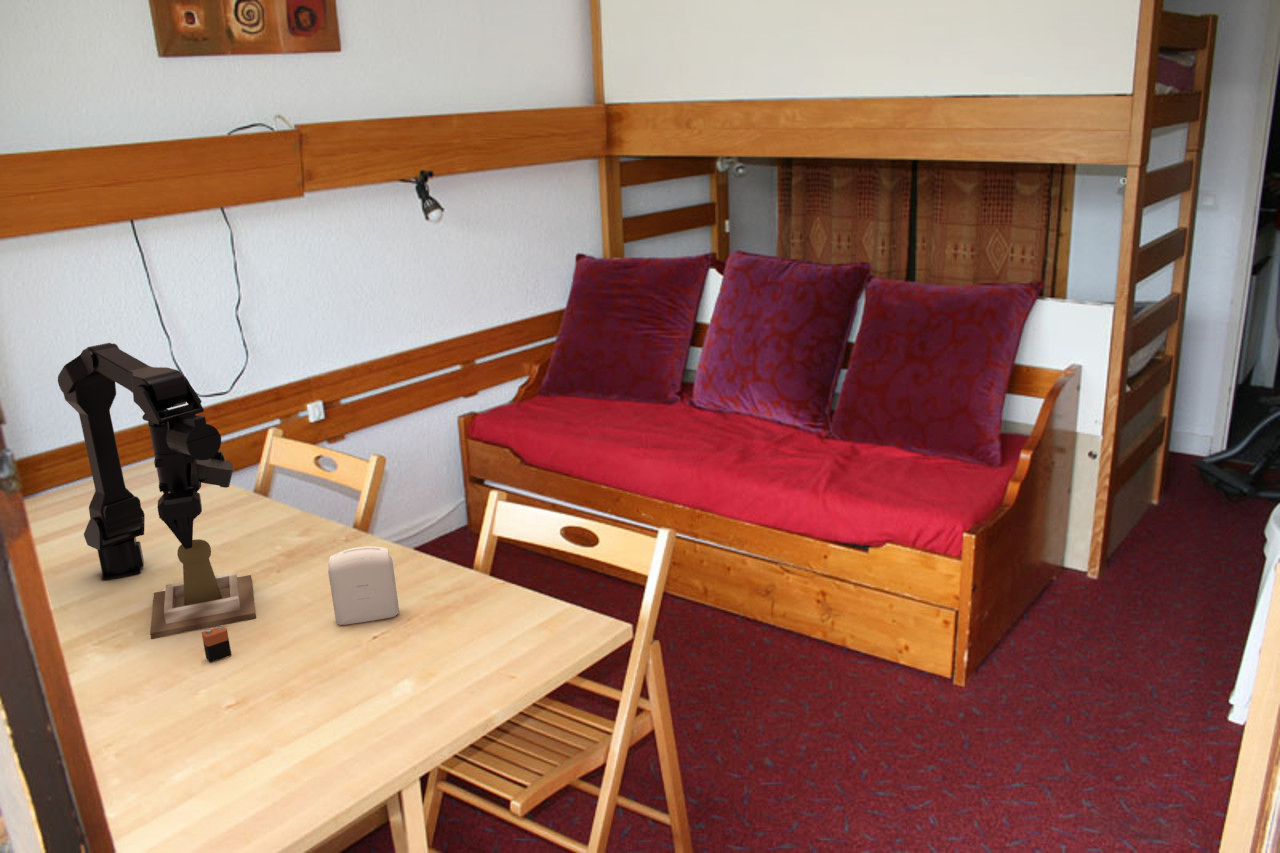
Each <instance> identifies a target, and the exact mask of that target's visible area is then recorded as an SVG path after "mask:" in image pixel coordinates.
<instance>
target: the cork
mask: <svg viewBox="0 0 1280 853" xmlns="http://www.w3.org/2000/svg"><path fill="white" fill-rule="evenodd" d="M176 555H177V559H178V560H179V562H180V563H182V571H183V572H182V576H183V582H184V606H188V605H193V604H198V603H203V602H209V601H214V600H219V599H222V596H221V593H220V590H219V587H218V584H217V581H216V578H215V576H216V575H215V573H214V569H213V566H212V563H211V560H210V558H211V556H212V547H211V545H210V543H209V542H208V541H206V540H205V539H193V541H192V548H189V549H185V548H184V547H183V545H182V544H181V543H180V545H179V547H178V548H177V554H176Z"/></svg>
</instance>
